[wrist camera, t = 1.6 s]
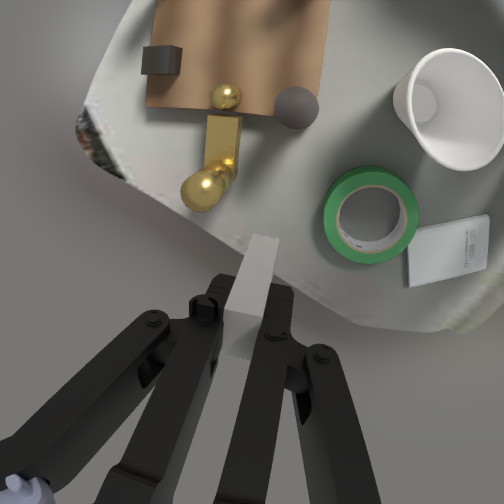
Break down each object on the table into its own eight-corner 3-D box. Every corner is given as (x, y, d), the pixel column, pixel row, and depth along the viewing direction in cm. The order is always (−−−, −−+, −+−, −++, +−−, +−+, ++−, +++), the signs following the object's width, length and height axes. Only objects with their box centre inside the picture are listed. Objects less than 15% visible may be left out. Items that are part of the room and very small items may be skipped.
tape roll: (303, 203, 34) (302, 212, 32) (378, 146, 29) (384, 151, 27) (356, 268, 37) (359, 280, 35) (427, 221, 32) (434, 230, 30)
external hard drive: (403, 228, 34) (484, 212, 30) (406, 282, 37) (482, 264, 33) (406, 234, 32) (490, 216, 29) (409, 289, 36) (486, 270, 32)
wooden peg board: (332, -25, 20) (339, -68, 11) (312, 121, 29) (315, 132, 20) (172, -29, 22) (126, -58, 13) (155, 105, 31) (102, 115, 22)
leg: (215, 83, 26) (186, 81, 20) (247, 86, 26) (227, 83, 19) (207, 183, 32) (180, 209, 25) (236, 187, 32) (215, 215, 25)
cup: (466, 91, 23) (522, 98, 14) (434, 162, 28) (479, 193, 19) (394, 43, 23) (432, 23, 13) (360, 118, 28) (385, 130, 19)
